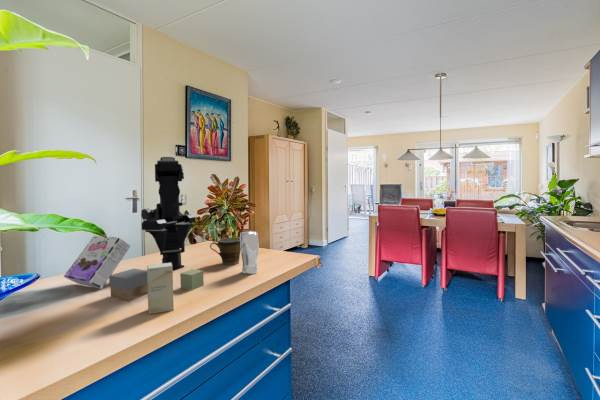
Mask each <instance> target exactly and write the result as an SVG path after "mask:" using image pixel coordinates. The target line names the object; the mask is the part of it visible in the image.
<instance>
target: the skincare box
mask: <svg viewBox="0 0 600 400" xmlns="http://www.w3.org/2000/svg"><path fill="white" fill-rule="evenodd" d="M146 271H147V282H148V294H147V303H148V305H147V306H148V308H147V309H148V314H149V315H153V314H158V313H165V312H170V311H174V307H175V305H174V275H173V273H174V272H173V271H174V270H173V267H172V263H171V262H170V263H154V264H147V265H146Z"/></svg>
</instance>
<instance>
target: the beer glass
mask: <svg viewBox="0 0 600 400" xmlns="http://www.w3.org/2000/svg"><path fill="white" fill-rule="evenodd" d="M239 234H240V235H239V238H240V256H241V259H242V268H241V273H242V274H244V275H254V274H257V273H259V268H258V255H259V249H260V247H259V246H260V244H259V232H258V231H256V230H255V231H254V230H250V231H249V230H248V231H247V230H246V231H241V232H240V233H239Z"/></svg>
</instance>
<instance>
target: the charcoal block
mask: <svg viewBox="0 0 600 400" xmlns="http://www.w3.org/2000/svg"><path fill="white" fill-rule="evenodd" d="M108 282H109V288H110V287H113V288H117V289H122V290H130V289H133V288H136V287H139V286H142V285H145V284H148V282H147V269H146V270H145V269H139V268H131V269H127V270H124V271H120V272H116V273H112V274H111V275H109V279H108Z"/></svg>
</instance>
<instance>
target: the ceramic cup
mask: <svg viewBox="0 0 600 400" xmlns="http://www.w3.org/2000/svg"><path fill="white" fill-rule="evenodd" d="M212 245H216V247H218V248H219V251H217V250H216V249H214V248H212ZM209 247H210V249H211V250H212V251H214V252H216V254H218V255H219V256H220V258H221V262H222V265H223V266H235V265H237V264H239V263H240V256H241V250H240V237H223V238H220V239H218V240H217V242H212V243H210V245H209Z"/></svg>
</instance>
